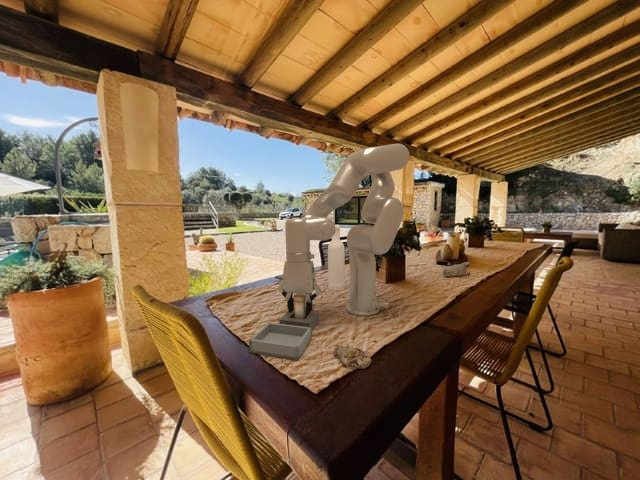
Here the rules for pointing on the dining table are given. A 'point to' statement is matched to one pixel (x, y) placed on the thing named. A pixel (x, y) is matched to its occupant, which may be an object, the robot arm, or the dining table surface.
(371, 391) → the dining table surface
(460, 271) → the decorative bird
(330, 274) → the bottle
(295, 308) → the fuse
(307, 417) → the dining table surface
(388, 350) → the dining table surface
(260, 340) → the tray
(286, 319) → the fuse holder
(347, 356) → the mineral rock
